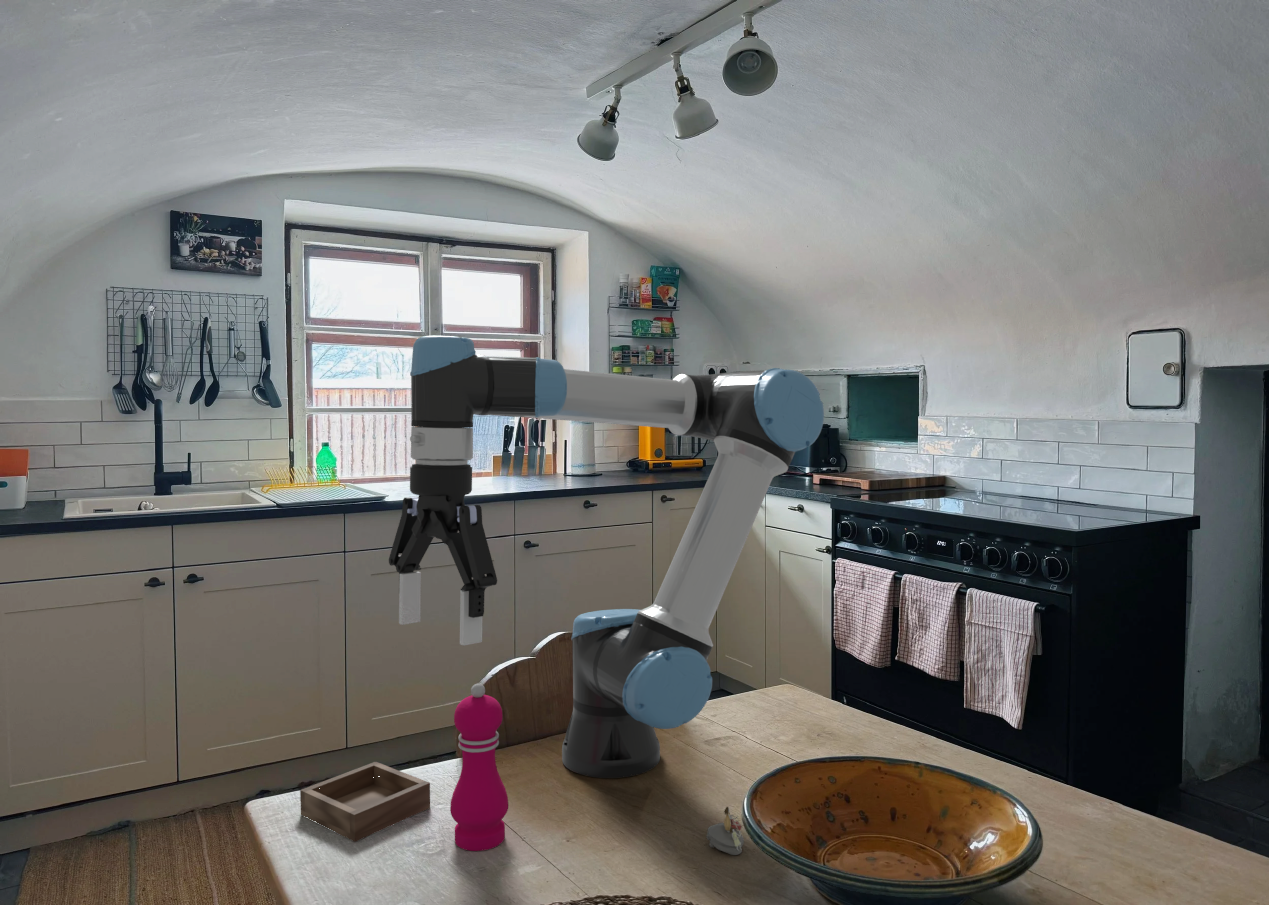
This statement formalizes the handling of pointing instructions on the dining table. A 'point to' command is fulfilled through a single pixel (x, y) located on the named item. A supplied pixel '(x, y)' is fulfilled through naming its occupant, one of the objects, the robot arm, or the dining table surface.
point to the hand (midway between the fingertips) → (439, 632)
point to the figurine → (726, 835)
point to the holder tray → (365, 800)
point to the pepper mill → (479, 774)
